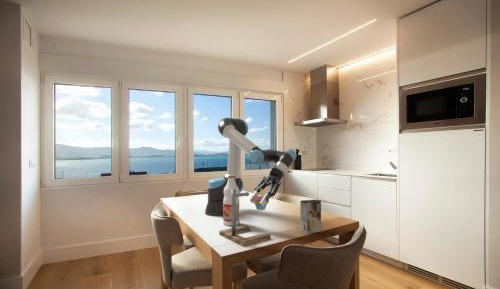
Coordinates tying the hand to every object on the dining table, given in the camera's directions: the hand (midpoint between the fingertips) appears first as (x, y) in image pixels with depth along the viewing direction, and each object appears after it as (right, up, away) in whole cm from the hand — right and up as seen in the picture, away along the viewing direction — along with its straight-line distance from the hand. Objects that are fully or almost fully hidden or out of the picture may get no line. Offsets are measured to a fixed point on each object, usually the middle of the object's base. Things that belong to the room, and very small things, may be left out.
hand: (256, 203), depth 145 cm
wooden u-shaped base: (-6, -15, -10) cm, 19 cm away
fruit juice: (-14, -15, +13) cm, 24 cm away
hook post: (-8, -13, -11) cm, 19 cm away
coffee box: (+29, -15, -1) cm, 33 cm away
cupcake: (+3, -4, +2) cm, 5 cm away
